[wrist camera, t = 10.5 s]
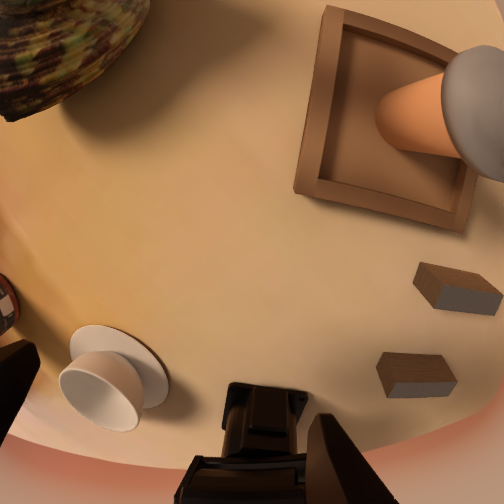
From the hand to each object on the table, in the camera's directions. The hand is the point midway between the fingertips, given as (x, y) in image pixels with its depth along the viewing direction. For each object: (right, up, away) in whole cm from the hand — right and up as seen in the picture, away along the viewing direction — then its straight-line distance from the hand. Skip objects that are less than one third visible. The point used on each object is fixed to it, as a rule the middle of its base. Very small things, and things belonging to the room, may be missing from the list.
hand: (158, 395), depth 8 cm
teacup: (-9, -6, +16) cm, 20 cm away
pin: (+11, +12, +7) cm, 18 cm away
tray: (+11, +12, +8) cm, 18 cm away
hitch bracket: (+16, -1, +12) cm, 20 cm away
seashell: (-8, +19, +7) cm, 22 cm away
